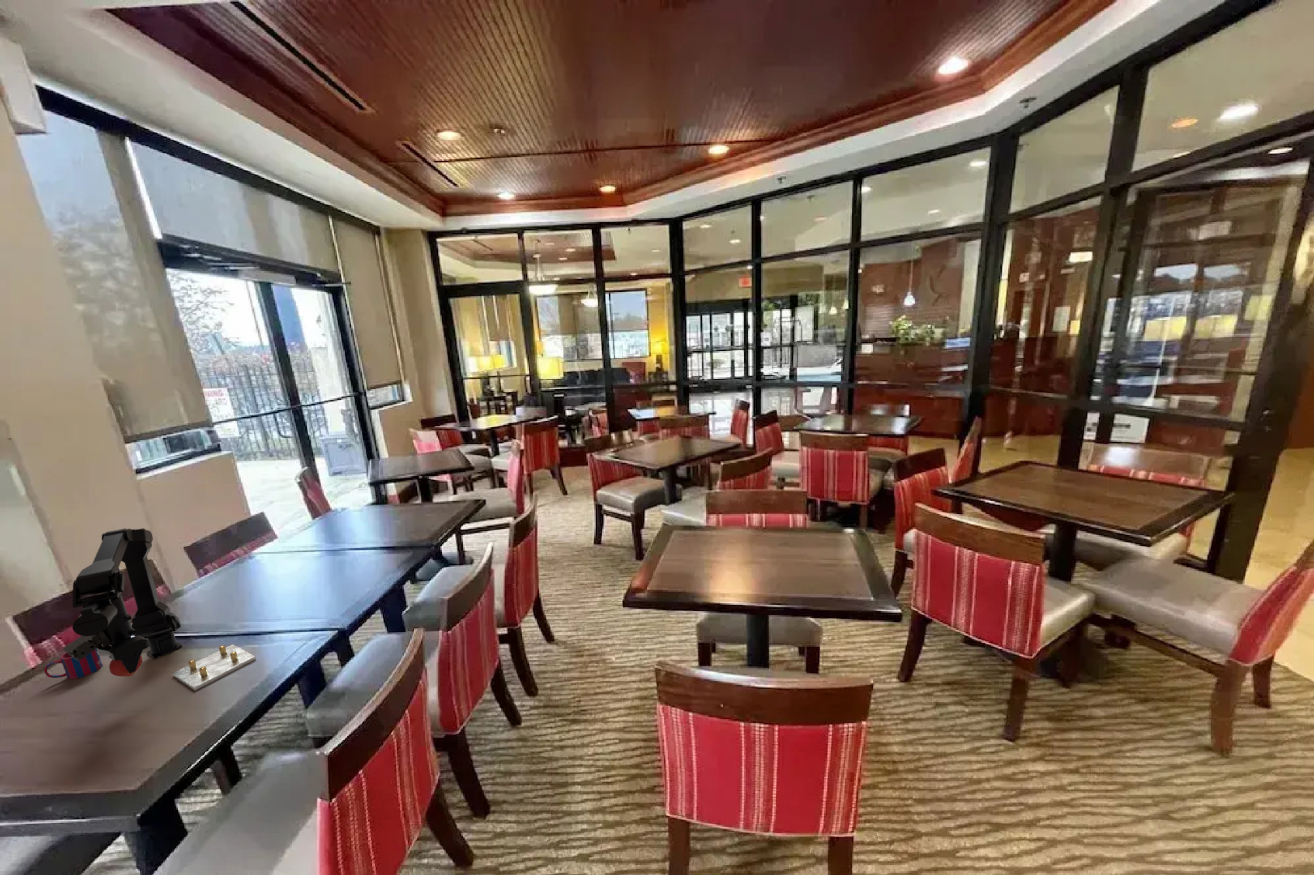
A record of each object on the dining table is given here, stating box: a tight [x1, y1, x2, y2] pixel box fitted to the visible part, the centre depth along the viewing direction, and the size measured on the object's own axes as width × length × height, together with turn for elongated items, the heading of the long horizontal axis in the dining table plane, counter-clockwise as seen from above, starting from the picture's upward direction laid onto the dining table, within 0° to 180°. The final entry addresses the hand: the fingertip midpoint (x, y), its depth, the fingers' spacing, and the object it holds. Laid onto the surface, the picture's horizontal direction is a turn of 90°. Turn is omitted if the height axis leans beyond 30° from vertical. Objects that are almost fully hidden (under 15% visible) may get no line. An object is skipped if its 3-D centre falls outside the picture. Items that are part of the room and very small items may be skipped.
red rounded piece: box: [108, 655, 143, 677], centre depth 125 cm, size 6×6×8 cm
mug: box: [43, 648, 103, 680], centre depth 138 cm, size 7×10×7 cm
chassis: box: [172, 644, 257, 692], centre depth 138 cm, size 14×14×4 cm
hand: (127, 669), depth 125 cm, fingers closed on red rounded piece, 6 cm apart
